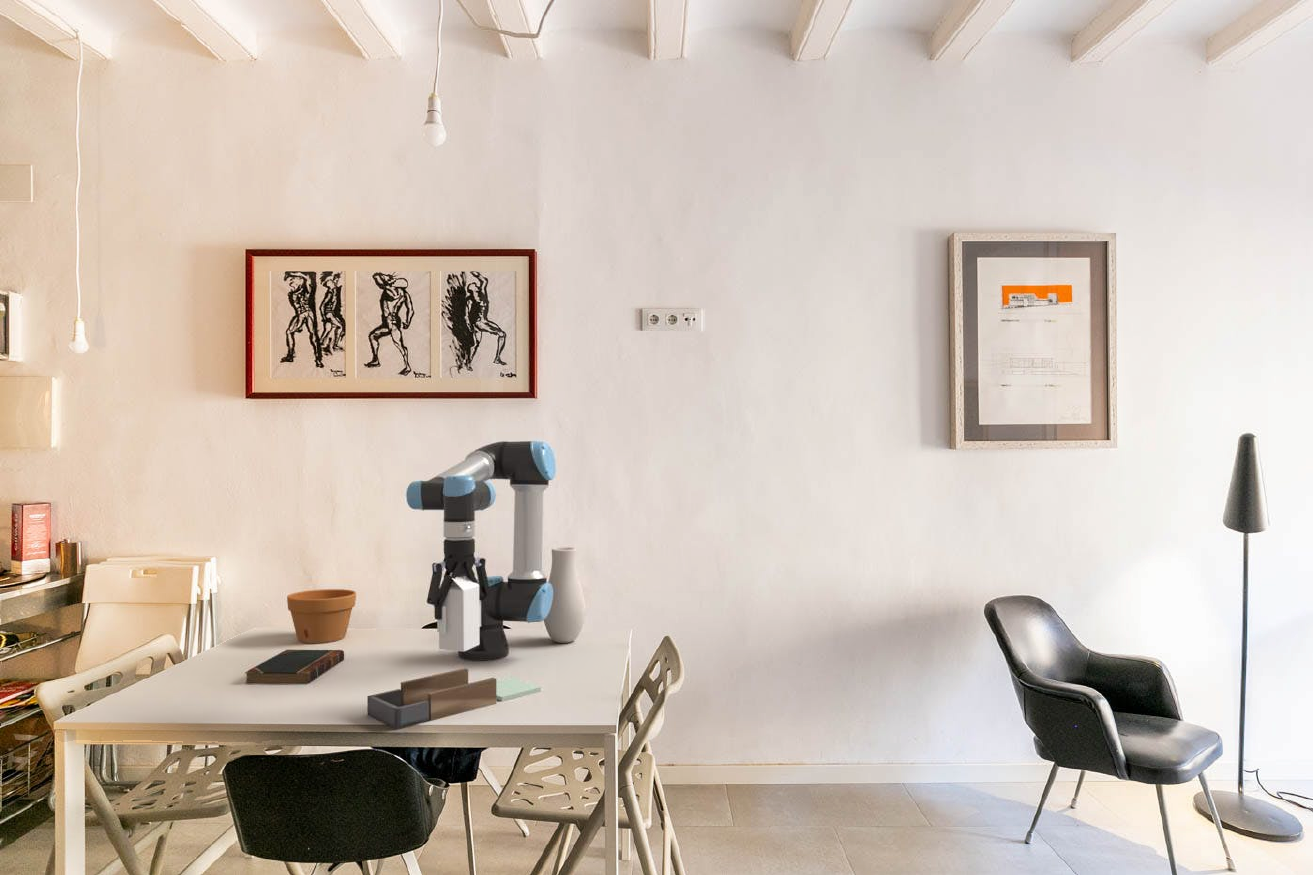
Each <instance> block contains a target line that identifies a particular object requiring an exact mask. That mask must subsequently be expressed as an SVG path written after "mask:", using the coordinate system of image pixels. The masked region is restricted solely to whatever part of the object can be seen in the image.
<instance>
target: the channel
mask: <svg viewBox="0 0 1313 875" xmlns="http://www.w3.org/2000/svg"><path fill="white" fill-rule="evenodd" d="M496 681H497V678H494V677H491V678H490V677H489V678H486V679H482V680H478V681H474V682H470V683H469V669H468V668H465V667H464V668H461V669H455V670H451V671H447V672H442V673H437V674H433V675H428V676H425V677H419V678H415V679H411V680H406V681H401V682H400V690H401V706H407V705H411V704H415V703H419V702H423V701H429V721H434V720H438V719H443V718H446V717H450V716H453V715H458V714H461V713H464V712H465V713H466V712H468V711H469V712H470V711H472V710H476V709H480V708H481V709H482V708H485V707H488V706H491V705H495V704H497V699H496Z"/></svg>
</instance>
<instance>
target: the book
mask: <svg viewBox="0 0 1313 875" xmlns="http://www.w3.org/2000/svg"><path fill="white" fill-rule="evenodd" d="M344 660H345V651H344V650H343V649H285V650H283V651H281V652H280V653H278V654H276V655H274V656H272V657H271V658H268V659H267V660H265V661H263V662H261V663H259V664H257V665H256V666H254V667H252V668H250V669H249V670H246V671H245V672H244V674H246V681H245V683H249V684H250V683H258V684H260V683H262V684H264V685H265V684H268V685H270V684H273V685H274V684H280V685H281V684H283V685H284V684H285V685H287V684H289V685H290V684H291V685H292V684H295V685H296V684H298V685H299V684H301V685H305V684H307V685H308V684H310V683H312V682H313V681H315V680H316V679H318V678H320V676H323V675H324V674H326V673H327V672H328V671H330V670H331V669H333V668H334V667H336V666H337V665H338V664H341V663H342V662H343V661H344Z"/></svg>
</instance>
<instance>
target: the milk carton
mask: <svg viewBox="0 0 1313 875" xmlns="http://www.w3.org/2000/svg"><path fill="white" fill-rule="evenodd" d="M450 576H452V573H451V575H450ZM452 579H453V578H452ZM453 580H454V581H453V582H452V584H451V587H450V589H449V591H448V594H447V596H446V598H445V601H444V603H443V606H446V633H444V634H443V633H440V632H438V648H439V650H444V651H445V650H446V651H453V652H454V651H455V652H458V651H463V652H464V651H466V650H469V649H471V648H473V647H476V646H478V645H479V585H478V584H477V583H474V582H472V581H471V580H470V579H469V578H468V577H467V576H462V575H461V576H459V577H456V578H455V579H453Z"/></svg>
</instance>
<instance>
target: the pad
mask: <svg viewBox="0 0 1313 875" xmlns="http://www.w3.org/2000/svg"><path fill="white" fill-rule="evenodd" d="M541 691H542V687H541V686H539V685H536V684H533V683H530V682H525V681H524V680H520V679H518V678H513V677H506V678H503V679H499V680H496V701H497V700H498V701H500V702H505V701H509V700H511V699H515V698H516V699H517V698H519V697H522V696H527V695H531V694H535V693H539V692H541Z"/></svg>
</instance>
